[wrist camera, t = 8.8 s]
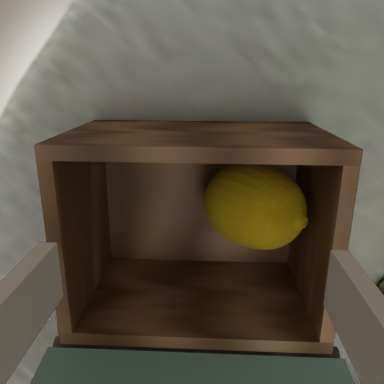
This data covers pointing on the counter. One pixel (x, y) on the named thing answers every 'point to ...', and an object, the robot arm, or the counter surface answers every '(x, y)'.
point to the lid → (184, 368)
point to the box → (190, 237)
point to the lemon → (255, 206)
